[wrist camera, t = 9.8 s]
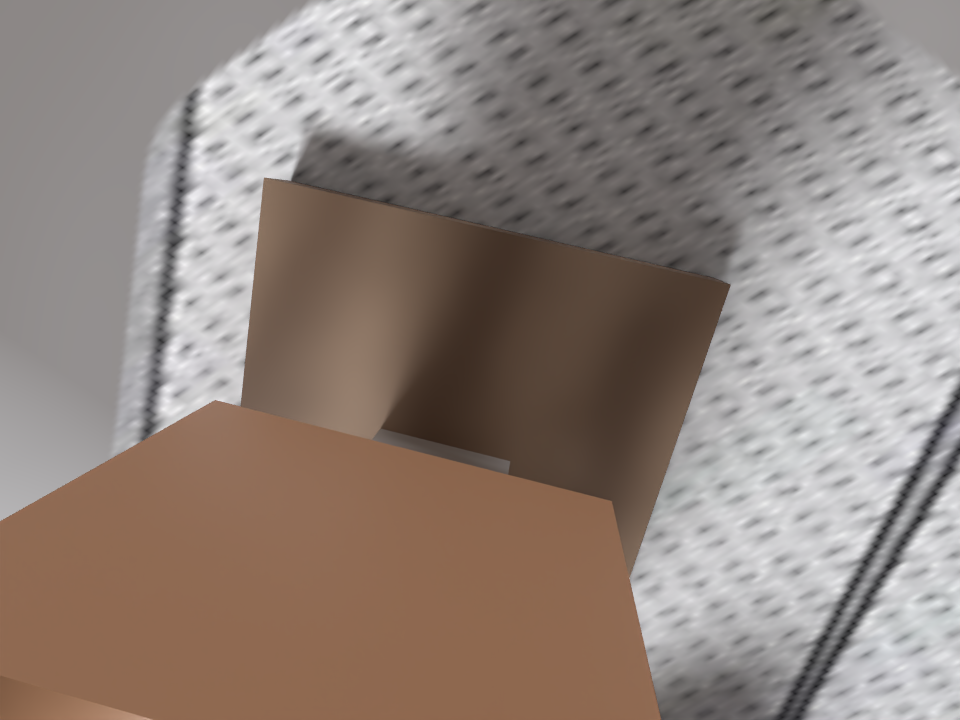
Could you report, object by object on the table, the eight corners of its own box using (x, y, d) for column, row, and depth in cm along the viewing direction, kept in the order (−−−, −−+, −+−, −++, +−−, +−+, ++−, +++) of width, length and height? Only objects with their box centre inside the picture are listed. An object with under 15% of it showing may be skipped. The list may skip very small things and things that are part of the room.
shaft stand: (713, 277, 20) (866, 338, 10) (581, 669, 25) (602, 956, 15) (290, 180, 21) (70, 153, 11) (244, 577, 26) (64, 794, 16)
